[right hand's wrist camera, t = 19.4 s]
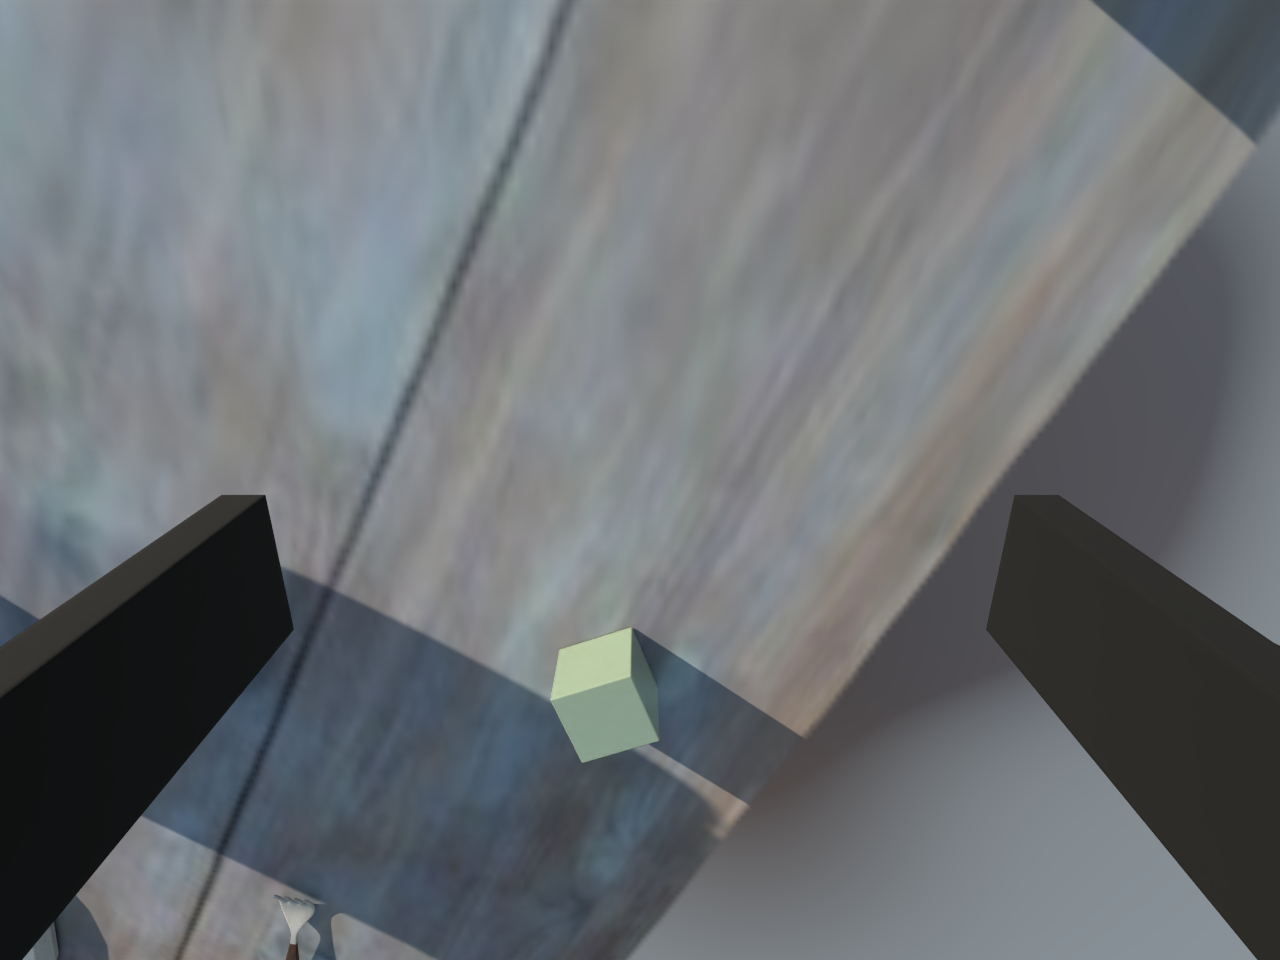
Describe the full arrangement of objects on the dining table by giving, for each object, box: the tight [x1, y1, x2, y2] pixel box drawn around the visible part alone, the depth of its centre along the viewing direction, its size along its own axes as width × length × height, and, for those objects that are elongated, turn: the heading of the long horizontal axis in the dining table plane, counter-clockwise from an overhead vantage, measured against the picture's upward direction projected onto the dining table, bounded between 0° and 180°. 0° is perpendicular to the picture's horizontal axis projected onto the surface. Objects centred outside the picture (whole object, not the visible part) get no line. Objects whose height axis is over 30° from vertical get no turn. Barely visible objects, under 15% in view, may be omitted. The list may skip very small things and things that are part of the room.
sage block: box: [551, 627, 660, 763], centre depth 43 cm, size 5×5×5 cm
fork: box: [273, 895, 315, 960], centre depth 54 cm, size 3×16×2 cm, turn 167°
